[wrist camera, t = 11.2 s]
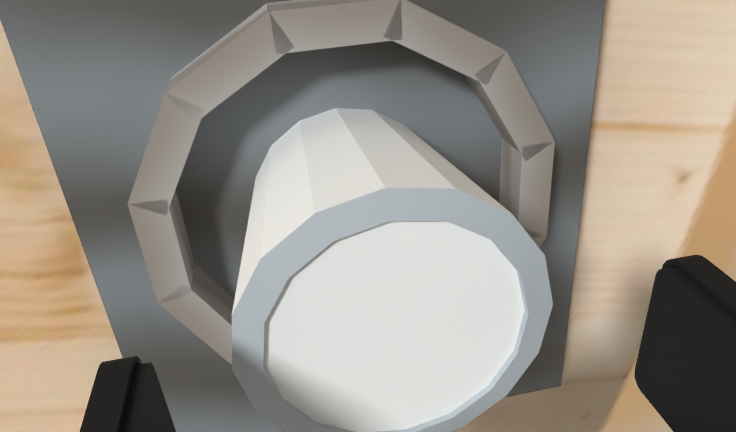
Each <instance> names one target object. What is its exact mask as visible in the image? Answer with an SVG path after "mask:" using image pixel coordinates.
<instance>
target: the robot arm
mask: <svg viewBox="0 0 736 432" xmlns="http://www.w3.org/2000/svg"><path fill="white" fill-rule="evenodd" d="M635 379H636V383H637V385H638V387H639V389H640V390H641V392H642V393H643V394H644V395H645V397H646V398H647V399H648V400H649V402H650V403H651V404H652V405H653V407H654V408H655V409H656V410H657V412H658V413H659V414H660V415H661V416H662V418H663V419H664V420H665V422H666V423H667V424H668V425H669V427H670V428H671V429H672V430H673V431H674V432H736V282H735V281H734V280H733V279H732V278H730V277H729V276H728V275H726V274H725V273H724V272H723V271H721V270H720V269H719V268H718V267H716V266H715V265H714V264H712V263H711V262H710V261H709V260H707V259H706V258H704V257H703V256H700V255H692V256H686V257H681V258H675V259H670V260H667V261H666V262H665V263H664V264H663V267H662V269H660V270H659V271H658V272H657V274H656V277H655V281H654V286H653V290H652V295H651V299H650V304H649V308H648V313H647V317H646V322H645V327H644V331H643V336H642V340H641V345H640V349H639V354H638V358H637V363H636V368H635ZM80 432H176V430H175V427H174V424H173V421H172V418H171V415H170V412H169V409H168V406H167V403H166V400H165V398H164V395H163V392H162V389H161V386H160V383H159V380H158V377H157V374H156V371H155V368H154V366H153V364H152V363H150V362H149V363H144V364H142V362H141V360H140V358H139V357H138V356H134V357H128V358H123V359H117V360H111V361H106V362H102V363H101V364H100V366H99V368H98V371H97V374H96V378H95V381H94V385H93V388H92V391H91V395H90V398H89V402H88V405H87V409H86V412H85V415H84V419H83V422H82V426H81V429H80Z"/></svg>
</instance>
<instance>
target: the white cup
mask: <svg viewBox="0 0 736 432" xmlns="http://www.w3.org/2000/svg"><path fill="white" fill-rule="evenodd" d="M552 306H553V301H552V295H551V289H550V283H549V277H548V271H547V265H546V259H545V255H544V253H543V252H542V251H541V250H540V248H539V247H538V246H537V245H536V243H535V242H534V241H533V240H532V238H531V237H530V236H529V235H528V233H527V232H526V231H525V230H524V228H523V227H522V226H521V224H520V223H519V222H518V221H517V219H516V218H515V217H514V216H513V214H512V213H510V212H509V211H508V210H507V209H506V208H504V207H503V206H502V205H501V204H500V203H498V202H497V201H496V200H495V199H494V198H492V197H491V196H490V195H489V194H487V193H486V192H485V191H484V190H483V189H481V188H480V187H479V186H478V185H477V184H475V183H474V182H473V181H472V180H470V179H469V178H468V177H467V176H466V175H464V174H463V173H462V172H461V171H460V170H458V169H457V168H456V167H455V166H453V165H452V164H451V163H450V162H449V161H447V160H446V159H445V158H444V157H443V156H441V155H440V154H439V153H438V152H436V151H435V150H434V149H433V148H432V147H430V146H429V145H428V144H427V143H426V142H424V141H423V140H422V139H421V138H419V137H418V136H417V135H416V134H415V133H413V132H412V131H411V130H410V129H409V128H407V127H406V126H405V125H403V124H401V123H399V122H397V121H395V120H393V119H391V118H389V117H387V116H385V115H382V114H380V113H378V112H376V111H374V110H367V109H343V108H334V109H331V110H329V111H326V112H323V113H320V114H317V115H314V116H312V117H309V118H306V119H303V120H300V121H298V122H297V123H296V124H295V125H294V126H293V127H292V128H290V129H289V130H288V131H287V132H286V133H285V134H284V135H283V136H281V137H280V138H279V139H278V140H277V141H276V142H275V143H273V144H272V145H271V147H270V149H269V151H268V153H267V155H266V157H265V159H264V161H263V163H262V166H261V168H260V170H259V172H258V174H257V176H256V179H255V185H254V190H253V196H252V202H251V208H250V213H249V219H248V225H247V231H246V236H245V242H244V248H243V253H242V259H241V265H240V271H239V276H238V282H237V288H236V294H235V299H234V305H233V311H232V370H233V372H234V374H235V376H236V377H237V379H238V381H239V383H240V384H241V386H242V388H243V390H244V391H245V393H246V395H247V397H248V398H249V400H250V402H251V404H252V405H253V407H254V409H255V411H256V412H257V414H259V415H260V416H262V417H263V418H265V419H266V420H268V421H269V422H271V423H272V424H274V425H275V426H277V427H278V428H280V429H281V430H283V431H284V432H453V431H456V430H459V429H461V428H463V427H464V426H465V425H467V424H468V423H469V422H471V421H472V420H474V419H475V418H476V417H478V416H479V415H481V414H482V413H483V412H485V411H486V410H487V409H489V408H490V407H492V406H493V405H494V404H496V403H497V402H499V401H500V400H501V399H503V398H504V397H506V396H507V394H508V393H509V392H510V390H511V389H512V388H513V386H514V385H515V384H516V382H517V381H518V380H519V378H520V377H521V376H522V375H523V373H524V372H525V371H526V369H527V368H528V367H529V365H530V364H531V363H532V361H533V360H534V359H535V357H536V356H537V355H538V353H539V350H540V347H541V344H542V340H543V337H544V333H545V330H546V327H547V323H548V320H549V316H550V313H551V310H552Z"/></svg>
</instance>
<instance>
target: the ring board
mask: <svg viewBox="0 0 736 432" xmlns="http://www.w3.org/2000/svg"><path fill="white" fill-rule="evenodd" d="M604 4H605V0H0V20H1V22H2V25H3V28H4V31H5V33H6V36H7V39H8V42H9V44H10V47H11V50H12V53H13V56H14V58H15V61H16V64H17V67H18V69H19V72H20V75H21V78H22V80H23V83H24V86H25V89H26V92H27V94H28V97H29V100H30V103H31V105H32V108H33V111H34V114H35V116H36V119H37V122H38V125H39V127H40V130H41V133H42V136H43V139H44V141H45V144H46V147H47V150H48V152H49V155H50V158H51V161H52V163H53V166H54V169H55V172H56V174H57V177H58V180H59V183H60V186H61V188H62V191H63V194H64V197H65V199H66V202H67V205H68V208H69V210H70V213H71V216H72V219H73V221H74V224H75V227H76V230H77V233H78V235H79V238H80V241H81V244H82V246H83V249H84V252H85V255H86V257H87V260H88V263H89V266H90V268H91V271H92V274H93V277H94V280H95V282H96V285H97V288H98V291H99V293H100V296H101V299H102V302H103V304H104V307H105V310H106V313H107V315H108V318H109V321H110V324H111V327H112V329H113V332H114V335H115V338H116V340H117V343H118V346H119V349H120V351H121V354H122V357H123V358H128V357H134V356H138V357H139V358H140V360H141V362H142V364H144V363H149V362H150V363H152V364H153V366H154V368H155V371H156V374H157V377H158V380H159V383H160V386H161V389H162V392H163V395H164V398H165V400H166V403H167V406H168V409H169V412H170V415H171V418H172V421H173V424H174V427H175V430H176V432H284V431H283V430H281V429H280V428H278V427H277V426H275V425H274V424H272V423H271V422H269V421H268V420H266V419H265V418H263V417H262V416H260V415H259V414H257V412H256V411H255V409H254V407H253V405H252V404H251V402H250V400H249V398H248V397H247V395H246V393H245V391H244V390H243V388H242V386H241V384H240V383H239V381H238V379H237V377H236V376H235V374H234V372H233V370H232V311H233V305H234V299H235V294H236V288H237V282H238V276H239V271H240V265H241V259H242V253H243V248H244V242H245V236H246V231H247V225H248V219H249V213H250V208H251V202H252V196H253V190H254V185H255V179H256V176H257V174H258V172H259V170H260V168H261V166H262V163H263V161H264V159H265V157H266V155H267V153H268V151H269V149H270V147H271V145H272V144H273V143H275V142H276V141H277V140H278V139H279V138H280V137H281V136H283V135H284V134H285V133H286V132H287V131H288V130H289V129H290V128H292V127H293V126H294V125H295V124H296V123H297V122H298V121H300V120H303V119H306V118H309V117H312V116H314V115H317V114H320V113H323V112H326V111H329V110H331V109H334V108H343V109H367V110H374V111H376V112H378V113H380V114H382V115H385V116H387V117H389V118H391V119H393V120H395V121H397V122H399V123H401V124H403V125H405V126H406V127H407V128H409V129H410V130H411V131H412V132H413V133H415V134H416V135H417V136H418V137H419V138H421V139H422V140H423V141H424V142H426V143H427V144H428V145H429V146H430V147H432V148H433V149H434V150H435V151H436V152H438V153H439V154H440V155H441V156H443V157H444V158H445V159H446V160H447V161H449V162H450V163H451V164H452V165H453V166H455V167H456V168H457V169H458V170H460V171H461V172H462V173H463V174H464V175H466V176H467V177H468V178H469V179H470V180H472V181H473V182H474V183H475V184H477V185H478V186H479V187H480V188H481V189H483V190H484V191H485V192H486V193H487V194H489V195H490V196H491V197H492V198H494V199H495V200H496V201H497V202H498V203H500V204H501V205H502V206H503V207H504V208H506V209H507V210H508V211H509V212H510V213H512V214H513V216H514V217H515V218H516V219H517V221H518V222H519V223H520V224H521V226H522V227H523V228H524V230H525V231H526V232H527V233H528V235H529V236H530V237H531V238H532V240H533V241H534V242H535V243H536V245H537V246H538V247H539V248H540V250H541V251H542V252H543V253H544V255H545V259H546V265H547V271H548V277H549V283H550V289H551V295H552V301H553V306H552V310H551V313H550V316H549V320H548V323H547V327H546V330H545V333H544V337H543V340H542V344H541V347H540V350H539V353H538V355H537V356H536V357H535V359H534V360H533V361H532V363H531V364H530V365H529V367H528V368H527V369H526V371H525V372H524V373H523V375H522V376H521V377H520V378H519V380H518V381H517V382H516V384H515V385H514V386H513V388H512V389H511V390H510V392H509V393H508V394H507V396H506V397H509V396H514V395H519V394H523V393H528V392H533V391H538V390H543V389H547V388H552V387H557V386H561V378H562V370H563V361H564V352H565V344H566V335H567V326H568V317H569V309H570V300H571V291H572V283H573V274H574V265H575V256H576V248H577V239H578V230H579V222H580V213H581V204H582V195H583V187H584V178H585V169H586V161H587V152H588V143H589V134H590V126H591V117H592V108H593V100H594V91H595V82H596V73H597V65H598V56H599V47H600V39H601V30H602V21H603V12H604Z"/></svg>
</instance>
